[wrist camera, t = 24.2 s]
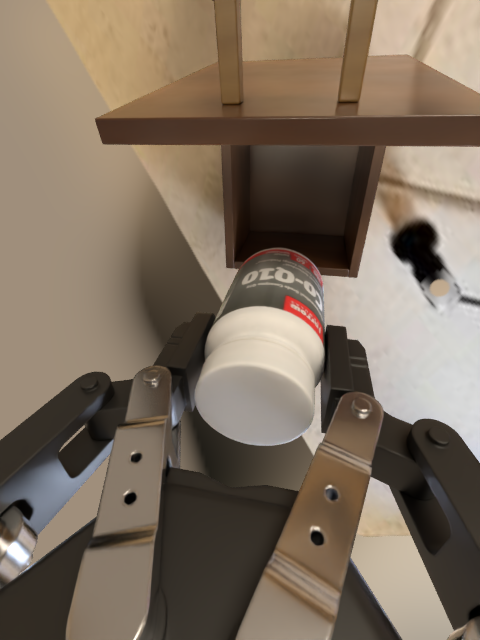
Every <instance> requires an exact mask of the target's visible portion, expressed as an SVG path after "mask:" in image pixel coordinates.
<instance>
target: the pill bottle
mask: <svg viewBox="0 0 480 640" xmlns="http://www.w3.org/2000/svg"><path fill="white" fill-rule="evenodd" d="M204 353H205V362H204V364H203V367H202V371H201V374H200V377H199V380H198V382H197V385H196V388H195V403H196V407H197V409H198V411H199V413H200V415H201V416H202V417H203V419H204V420H205V421H206V422H207V423H208V424H209V425H210V426H211V427H212V428H214V429H215V430H217V431H218V432H219V433H221V434H223V435H224V436H226V437H228V438H231V439H233V440H236V441H239V442H242V443H246V444H251V445H261V446H271V445H278V444H284V443H287V442H290V441H292V440H294V439H296V438H298V437H299V436H301V435H302V434H303V433H305V432H306V430H307V429H308V428H309V426H310V425H311V423H312V420H313V417H314V404H315V387H316V386H317V385H318V383H319V382H320V380H321V378H322V376H323V373H324V369H325V357H326V350H325V324H324V288H323V281H322V278H321V275H320V273H319V271H318V269H317V268H316V266H315V265H314V264H313V263H312V262H311V261H310V260H309V259H308V258H307V257H305V256H304V255H302V254H300V253H298V252H296V251H294V250H290V249H286V248H270V249H265V250H262V251H259V252H257V253H255V254H254V255H252V256H251V257H249V258H248V259H247V260H246V261H245V262H244V263H243V264H242V266H241V267H240V269H239V270H238V272H237V274H236V276H235V278H234V280H233V283H232V284H231V286H230V288H229V290H228V293H227V295H226V297H225V300H224V302H223V304H222V305H221V308H220V311H219V312H218V314H217V317H216V319H215V321H214V323H213V325H212V327H211V329H210V331H209V334H208V336H207V339H206V343H205V351H204Z"/></svg>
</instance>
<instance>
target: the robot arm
mask: <svg viewBox="0 0 480 640" xmlns="http://www.w3.org/2000/svg"><path fill="white" fill-rule="evenodd" d="M214 321H215V315H214V314H213V313H203V312H197V313H196V314H195V316H194V318H193V320H192V321H191V322H184V323H183V324H181V325H180V326H178V327H177V328H176V329H175V331H174V332H173V334H172V336H171V338H170V339H169V340H168V342H167V344H166V345H165V347H164V348H163V350H162V352H161V353H160V355H159V357H158V358H157V360H156V362H155V363H154V365H153V366H150V367H146V368H144V369H142V370H141V371H139V372H138V373H137V374H136V375H135V377H134V379H131V380H124V381H115V382H111V379H110V377H109V376H108V375H107V374H106V373H103V372H91V373H88V374H85V375H83V376H81V377H79V378H78V379H76V380H75V381H74V382H73V383H71V384H70V385H69V386H68V387H66V388H65V389H64V390H63V391H61V392H60V393H59V394H58V395H56V396H55V397H54V398H53V399H51V400H50V401H49V402H48V403H46V404H45V405H44V406H43V407H41V408H40V409H39V410H38V411H36V412H35V413H34V414H33V415H31V416H30V417H29V418H28V419H26V420H25V421H24V422H23V423H21V424H20V425H19V426H18V427H16V428H15V429H14V430H13V431H12V432H10V433H9V434H8V435H6V436H5V437H4V438H3V439H1V440H0V640H402V639H401V637H400V635H399V634H398V632H397V630H396V629H395V627H394V626H393V624H392V622H391V621H390V619H389V618H388V616H387V615H386V613H385V611H384V610H383V608H382V607H381V605H380V603H379V602H378V600H377V599H376V597H375V595H374V594H373V592H372V591H371V589H370V588H369V586H368V584H367V583H366V581H365V580H364V578H363V576H362V575H361V573H360V572H359V570H358V569H357V567H356V565H355V564H354V562H353V561H352V559H351V553H352V548H353V545H354V540H355V536H356V533H357V529H358V525H359V521H360V517H361V513H362V508H363V504H364V500H365V496H366V492H367V488H368V484H369V480H370V476H371V477H373V478H375V479H377V480H379V481H381V482H383V483H385V484H387V485H389V487H390V489H391V491H392V494H393V496H394V498H395V500H396V502H397V505H398V507H399V509H400V511H401V514H402V516H403V518H404V520H405V523H406V525H407V527H408V529H409V531H410V534H411V536H412V538H413V540H414V543H415V545H416V547H417V549H418V552H419V554H420V556H421V558H422V560H423V563H424V565H425V567H426V569H427V572H428V574H429V576H430V578H431V580H432V583H433V585H434V587H435V589H436V591H437V594H438V596H439V598H440V601H441V603H442V605H443V607H444V609H445V612H446V614H447V616H448V618H449V620H450V623H451V625H452V627H453V629H454V631H453V632H452V633H451V634H450V635H449V637H448V639H447V640H480V463H479V461H478V460H477V459H476V457H475V456H474V455H473V453H472V452H471V451H470V449H469V448H468V446H467V445H466V444H465V442H464V441H463V440H462V438H461V437H460V436H459V434H458V433H457V432H456V431H455V430H453V429H452V428H451V427H449V426H448V425H446V424H444V423H442V422H440V421H437V420H433V419H421V420H418V421H416V422H415V423H414V424H413V425H412V424H409V423H407V422H404V421H402V420H399V419H397V418H395V417H392V416H391V415H389V414H388V413H386V412H385V411H384V410H383V407H382V406H381V404H380V403H379V402H378V401H377V400H376V399H375V397H374V392H373V387H372V382H371V377H370V372H369V368H368V362H367V357H366V352H365V349H364V347H363V346H362V345H361V344H360V342H359V341H358V340H350V339H347V332H346V327H343V326H333V325H327V327H326V332H325V350H326V357H325V369H324V373H323V376H322V378H321V433H326V434H325V437H324V439H323V441H322V443H320V444H319V446H318V448H317V450H316V452H315V455H314V457H313V459H312V462H311V464H310V467H309V469H308V472H307V474H306V476H305V479H304V481H303V483H302V486H301V488H300V490H299V491H294V490H288V489H284V488H278V487H273V486H268V485H262V486H247V487H236V488H235V487H233V488H232V487H228V486H226V485H224V484H222V483H220V482H218V481H216V480H214V479H212V478H210V477H208V476H206V475H204V474H202V473H199V472H194V471H189V470H183V469H180V444H181V421H180V418H181V416H182V414H183V411H188V412H193V409H194V407H195V404H196V403H195V388H196V385H197V382H198V380H199V377H200V374H201V371H202V367H203V364H204V362H205V353H204V351H205V343H206V339H207V336H208V334H209V331H210V329H211V327H212V325H213V323H214ZM83 425H85V428H84V429H83V430H82V431H81V432H80V433H79V434H78V435H77V436H76V437H75V438H74V439H73V440H72V441H70V442H69V443H68V444H67V445H66V446H65V447H64V448H63V449H62V450H61V451H60V452H59V450H60V449H61V447H62V446H63V444H64V443H65V442H66V441H67V440H69V439H70V438H71V437H72V436H73V435H74V434H75V433H76V432H77V431H78V430H79V429H80V428H81V427H82V426H83ZM110 453H111V454H110ZM109 455H110V459H109V463H108V468H107V472H106V477H105V482H104V486H103V490H102V495H101V500H100V504H99V508H98V513H97V517H95V518H94V519H93V520H91V521H90V522H89V523H87V524H86V525H85V526H84V527H82V528H81V529H79V530H78V531H77V532H75V533H74V534H73V535H71V536H70V537H69V538H68V539H66V540H65V541H64V542H62V543H61V544H60V545H58V546H57V547H56V548H54V549H53V550H52V551H50V552H49V553H48V554H46V555H45V556H44V557H42V558H41V559H40V560H38V561H37V562H36V563H34V564H33V565H32V566H30V567H29V568H28V569H26V568H27V567H28V566H29V564H30V563H31V561H32V558H33V554H32V553H33V552H34V549H35V547H36V544H37V539H38V534H39V533H40V532H41V531H42V530H43V529H44V528H45V526H46V525H47V524H48V523H49V522H50V521H51V520H52V518H53V517H54V516H55V515H56V514H57V513H58V512H59V511H60V510H61V508H62V507H63V506H64V505H65V504H66V503H67V502H68V501H69V499H70V498H71V497H72V496H73V495H74V494H75V493H76V491H77V490H78V489H79V488H80V487H81V486H82V485H83V484H84V483H85V481H86V480H87V479H88V478H89V477H90V476H91V475H92V474H93V473H94V471H95V470H96V469H97V468H98V467H99V466H100V465H101V463H102V462H103V461H104V460H105V459H106V458H107V457H108V456H109ZM25 569H26V570H25ZM24 570H25V571H24ZM22 571H24V572H22ZM20 572H22V573H21V574H20ZM19 574H20V575H19Z"/></svg>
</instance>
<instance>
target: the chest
mask: <svg viewBox="0 0 480 640" xmlns="http://www.w3.org/2000/svg"><path fill="white" fill-rule="evenodd" d="M385 149H386V146H292V145H221V152H222V175H223V198H224V222H225V245H226V267H227V268H236V269H240V267H241V266H242V264H243V263H244V262H245V261H246V260H247V259H248V258H249V257H251V256H252V255H254V254H255V253H257V252H259V251H262V250H265V249H270V248H286V249H290V250H294V251H296V252H298V253H300V254H302V255H304V256H305V257H307V258H308V259H309V260H310V261H311V262H312V263H313V264H314V265H315V266H316V268H317V269H318V271H319V273H320V275H328V276H342V277H354V278H357V275H358V271H359V266H360V262H361V257H362V253H363V248H364V244H365V239H366V235H367V230H368V226H369V221H370V217H371V212H372V208H373V203H374V199H375V194H376V190H377V185H378V181H379V176H380V172H381V167H382V163H383V158H384V154H385Z"/></svg>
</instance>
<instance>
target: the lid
mask: <svg viewBox="0 0 480 640" xmlns="http://www.w3.org/2000/svg"><path fill="white" fill-rule="evenodd" d="M213 1H214V9H215V23H216V36H217V50H218V62H216V63H214V64H212V65H210V66H207V67H205V68H203V69H201V70H199V71H197V72H194V73H192V74H190V75H188V76H186V77H184V78H182V79H179V80H177V81H175V82H173V83H171V84H169V85H166V86H164V87H162V88H160V89H158V90H156V91H154V92H151V93H149V94H147V95H145V96H143V97H141V98H138V99H136V100H134V101H132V102H130V103H128V104H126V105H123V106H121V107H119V108H117V109H115V110H113V111H110V112H108V113H106V114H104V115H102V116H100V117H98V118H96V119H95V121H96V125H97V128H98V131H99V134H100V137H101V140H102V143H103V144H128V145H292V146H460V147H480V94H479V93H477V92H476V91H474V90H472V89H470V88H468V87H466V86H465V85H463V84H461V83H459V82H457V81H455V80H453V79H452V78H450V77H448V76H446V75H444V74H442V73H441V72H439V71H437V70H435V69H433V68H431V67H429V66H428V65H426V64H424V63H422V62H420V61H418V60H417V59H415V58H413V57H411V56H409V55H384V56H368V53H369V47H370V42H371V36H372V31H373V25H374V20H375V14H376V9H377V3H378V0H351V5H350V12H349V19H348V26H347V33H346V40H345V48H344V55H343V57H335V58H311V59H287V60H263V61H242V33H241V2H240V0H213Z"/></svg>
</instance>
